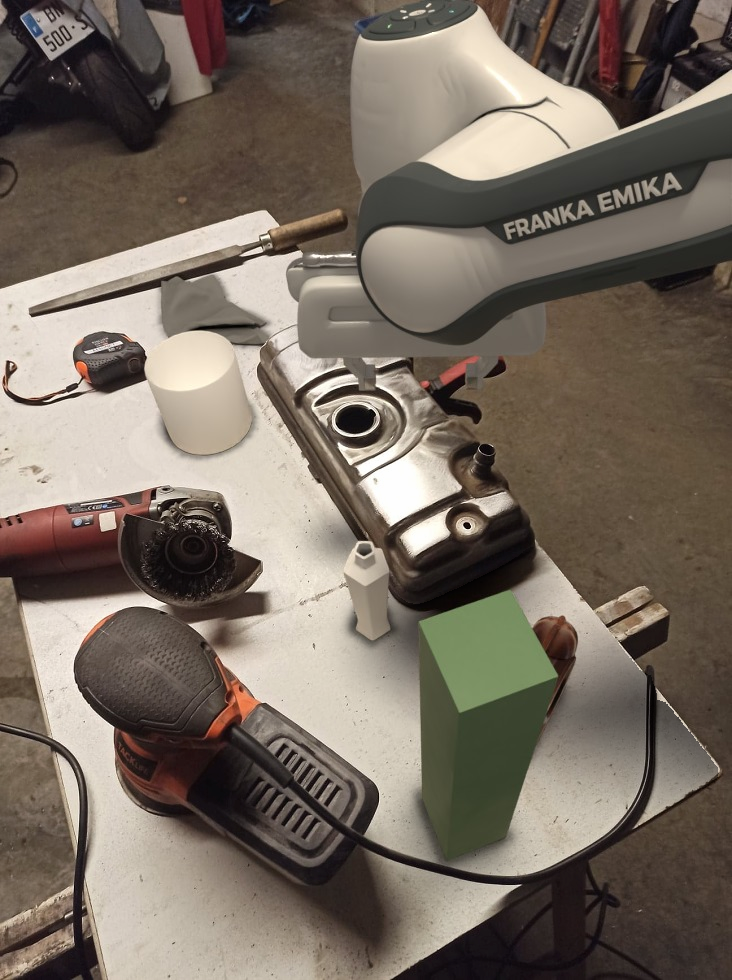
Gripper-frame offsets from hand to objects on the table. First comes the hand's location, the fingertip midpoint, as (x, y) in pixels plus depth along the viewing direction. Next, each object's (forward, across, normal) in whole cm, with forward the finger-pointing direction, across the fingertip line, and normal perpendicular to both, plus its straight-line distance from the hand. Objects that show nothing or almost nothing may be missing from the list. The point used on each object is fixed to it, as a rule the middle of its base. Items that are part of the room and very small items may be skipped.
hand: (420, 385), depth 66 cm
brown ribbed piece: (+28, +11, -19) cm, 35 cm away
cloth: (+28, -35, +46) cm, 64 cm away
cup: (+28, -30, +22) cm, 46 cm away
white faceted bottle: (+28, -5, -9) cm, 30 cm away
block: (+28, +4, -29) cm, 41 cm away
